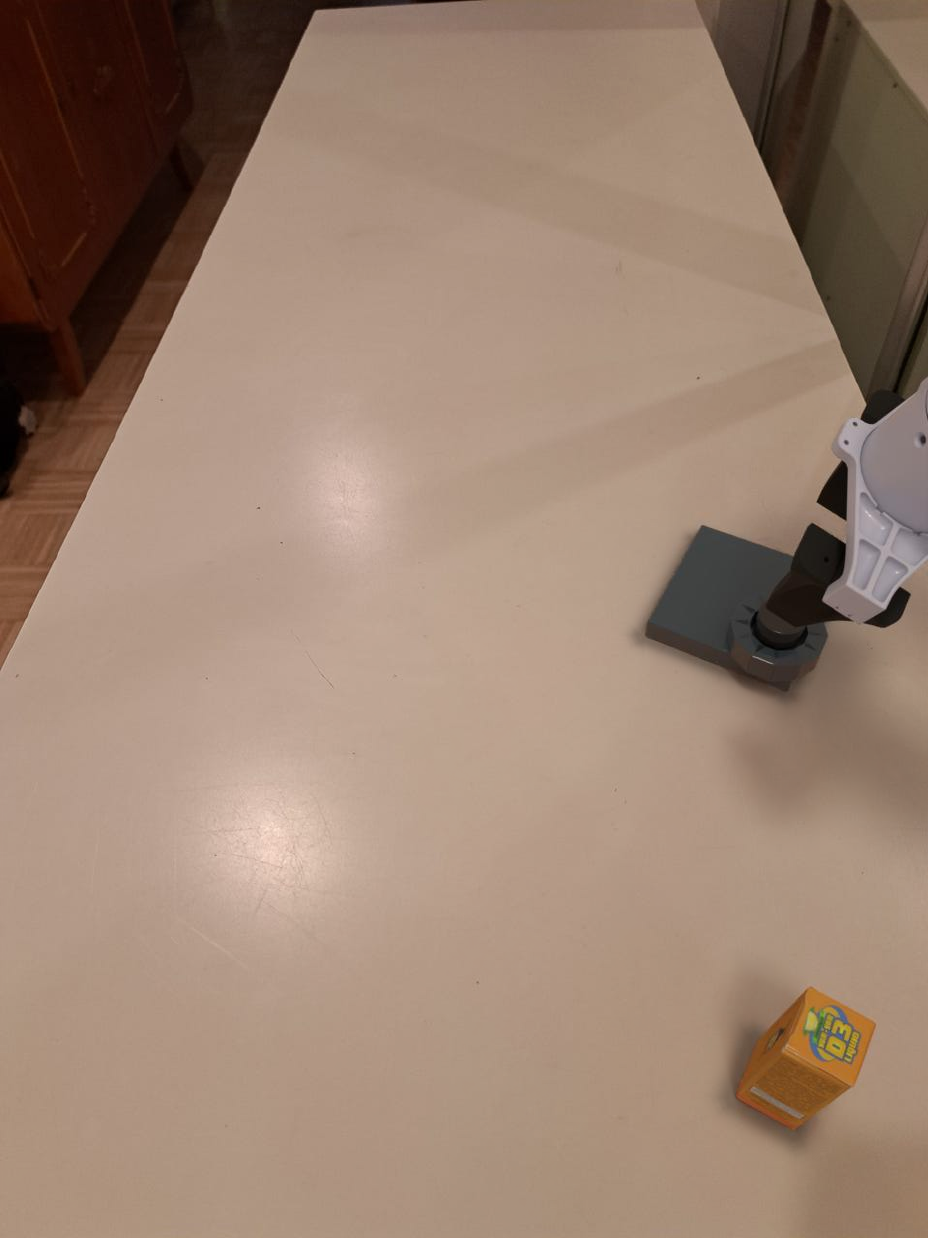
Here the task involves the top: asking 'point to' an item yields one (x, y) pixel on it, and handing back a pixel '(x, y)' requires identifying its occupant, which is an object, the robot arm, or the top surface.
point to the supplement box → (806, 1059)
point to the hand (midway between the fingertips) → (808, 558)
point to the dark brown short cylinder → (776, 630)
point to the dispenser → (731, 609)
